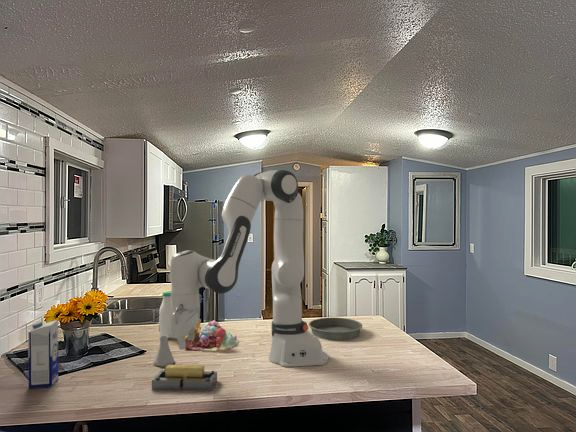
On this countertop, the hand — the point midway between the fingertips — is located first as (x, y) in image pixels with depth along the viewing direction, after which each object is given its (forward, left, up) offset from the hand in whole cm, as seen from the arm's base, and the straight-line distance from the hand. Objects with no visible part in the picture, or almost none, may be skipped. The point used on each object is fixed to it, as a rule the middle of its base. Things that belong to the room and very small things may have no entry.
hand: (186, 344), depth 140 cm
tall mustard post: (+1, 0, -12) cm, 12 cm away
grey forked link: (-4, 0, -13) cm, 14 cm away
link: (+6, 0, -13) cm, 14 cm away
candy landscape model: (+4, -45, -14) cm, 47 cm away
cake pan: (-51, -62, -14) cm, 81 cm away
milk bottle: (+24, -53, -13) cm, 60 cm away
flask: (+14, -19, -14) cm, 27 cm away
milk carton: (+47, +1, -13) cm, 49 cm away
